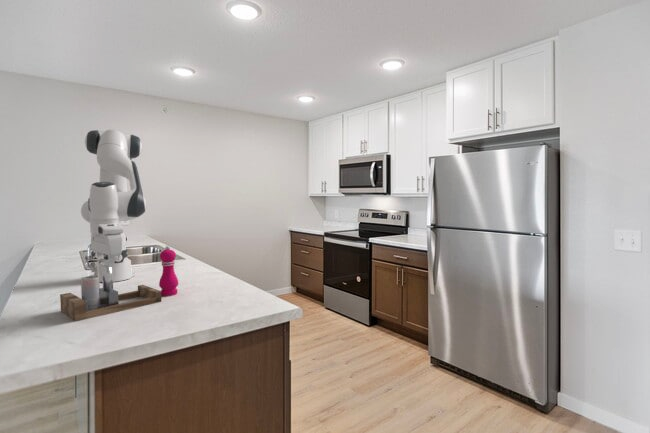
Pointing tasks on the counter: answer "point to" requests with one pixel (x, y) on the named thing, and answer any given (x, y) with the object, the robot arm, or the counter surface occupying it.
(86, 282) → the energy drink
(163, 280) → the pepper mill
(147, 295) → the press frame
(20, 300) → the counter surface
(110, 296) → the press jaw
